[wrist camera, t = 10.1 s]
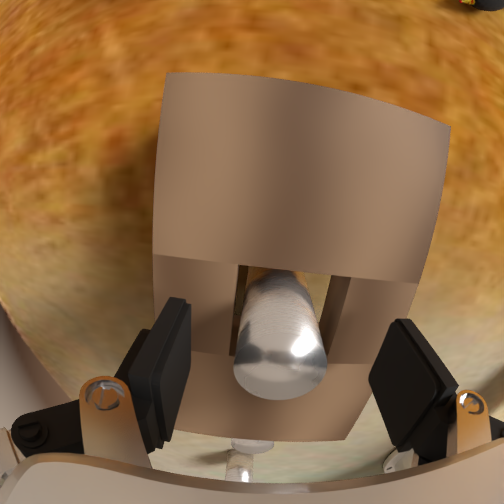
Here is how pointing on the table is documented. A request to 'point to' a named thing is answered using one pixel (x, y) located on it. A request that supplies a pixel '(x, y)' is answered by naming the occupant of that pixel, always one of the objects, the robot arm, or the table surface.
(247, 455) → the steel pin short
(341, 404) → the walnut bridge
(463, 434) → the robot arm
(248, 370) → the steel pin long
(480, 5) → the toy
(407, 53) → the table surface
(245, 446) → the steel pin medium
